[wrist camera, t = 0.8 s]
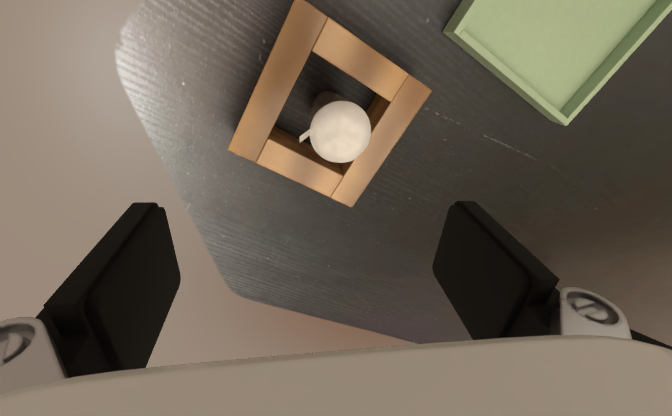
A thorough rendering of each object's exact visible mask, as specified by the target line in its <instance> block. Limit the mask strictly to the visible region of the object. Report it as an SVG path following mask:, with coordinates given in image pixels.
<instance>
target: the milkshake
mask: <svg viewBox="0 0 672 416" xmlns="http://www.w3.org/2000/svg"><path fill="white" fill-rule="evenodd" d="M308 136H310V141H311V144H312V146H313V148H314V150H315V151H316V152H317V153H318V154H319V155H320V156H321V157H322V158H324V159H325V160H327V161H331V162H337V163H345V162H350V161H352V160H355V159H356V158H357V157H358V156H359V155H360V154H361V153H362V152H363V151H364V150H365V149H366V147H367V146H368V144H369V141H370V137H371V125H370V121H369V118H368V116H367V114H366V113H365V111H364V110H363V109H362V108H361V107H360V106H358V105H356V104H354V103H352V102H350V101H348V100H346V99H345V98H343V97H342V96H340V95H339V94H338V93H336V92H330V91H323V92H322V93H320V94H319V95H317V96H316V97H315V98H314V101H313V103H312V106H311V123H310V129H309V130H308V131H306V132H305V133H303V134H302V135H301V136H300V137H299V143H300V142H302V141H303V140H304V139H306V138H307V137H308Z"/></svg>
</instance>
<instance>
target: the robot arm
mask: <svg viewBox="0 0 672 416" xmlns="http://www.w3.org/2000/svg"><path fill="white" fill-rule="evenodd" d="M433 273H434V275H435V277H436V279H437V280H438V282H439V284H440V285H441V287H442V289H443V290H444V292H445V294H446V295H447V297H448V299H449V300H450V302H451V304H452V305H453V307H454V309H455V310H456V312H457V314H458V315H459V317H460V319H461V320H462V322H463V324H464V325H465V327H466V329H467V330H468V332H469V334H470V335H471V337H472V339H473V340H469V341H455V342H442V343H429V344H416V345H403V346H392V347H379V348H366V349H353V350H343V351H342V350H341V351H329V352H317V353H305V354H293V355H281V356H270V357H258V358H248V359H235V360H224V361H212V362H201V363H191V364H180V365H170V366H160V367H151V368H146V365H147V363H148V360H149V358H150V356H151V353H152V350H153V348H154V346H155V344H156V341H157V339H158V336H159V334H160V331H161V329H162V327H163V324H164V322H165V319H166V317H167V314H168V312H169V310H170V307H171V305H172V302H173V300H174V298H175V295H176V293H177V290H178V288H179V285H180V271H179V267H178V263H177V259H176V254H175V250H174V246H173V241H172V237H171V233H170V229H169V225H168V220H167V216H166V212H165V209H164V208H163V207H158V205H157V203H133V204H132V205H131V206H130V207H129V208H128V209H127V210H126V211H125V213H124V214H123V215H122V216H121V217H120V218H119V220H118V221H117V222H116V223H115V224H114V225H113V226H112V228H111V229H110V230H109V231H108V232H107V233H106V234H105V236H104V237H103V238H102V239H101V240H100V241H99V242H98V243H97V245H96V246H95V247H94V248H93V249H92V250H91V252H90V253H89V254H88V255H87V256H86V257H85V258H84V260H83V261H82V262H81V263H80V264H79V265H78V266H77V268H76V269H75V270H74V271H73V272H72V273H71V274H70V276H69V277H68V278H67V279H66V280H65V281H64V282H63V284H62V285H61V286H60V287H59V288H58V289H57V290H56V292H55V293H54V294H53V295H52V296H51V297H50V298H49V300H48V301H47V302H46V303H45V304H44V309H43V310H42V311H41V312H40V313H39V314H38V315H37V317H36V318H33V317H18V318H12V319H7V320H4V321H1V322H0V416H672V347H671V346H668V345H666V344H664V343H661V342H659V341H657V340H654V339H652V338H650V337H647V336H645V335H643V334H640V333H638V332H636V331H633V330H631V329H629V326H628V322H627V319H626V317H625V315H624V313H623V312H622V311H621V310H620V309H619V308H618V307H617V306H616V305H615V304H613V303H612V302H611V301H609V300H608V299H606V298H604V297H603V296H601V295H599V294H597V293H595V292H592V291H590V290H587V289H583V288H579V287H565V288H564V289H562V290H561V291H560V292H559V291H558V290H557V289H556V288H555V287H556V285H557V283H558V281H559V280H560V279H559V278H558V277H556V276H555V275H554V274H553V273H552V272H551V271H550V270H549V269H548V268H547V267H546V266H544V265H543V264H542V263H541V262H540V261H539V260H538V259H537V258H536V257H535V256H534V255H533V254H531V253H530V252H529V251H528V250H527V249H526V248H525V247H524V246H523V245H522V244H521V243H519V242H518V241H517V240H516V239H515V238H514V237H513V236H512V235H511V234H510V233H509V232H507V231H506V230H505V229H504V228H503V227H502V226H501V225H500V224H499V223H498V222H497V221H495V220H494V219H493V218H492V217H491V216H490V215H489V214H488V213H487V212H486V211H485V210H484V209H482V208H481V207H480V206H479V205H478V204H477V203H476V202H474V201H457V202H455V204H454V205H452V206H450V208H449V210H448V214H447V217H446V221H445V224H444V228H443V231H442V234H441V238H440V241H439V245H438V248H437V252H436V255H435V258H434V262H433Z"/></svg>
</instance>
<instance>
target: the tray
mask: <svg viewBox="0 0 672 416" xmlns="http://www.w3.org/2000/svg"><path fill="white" fill-rule="evenodd" d="M671 10H672V0H462V2H461V3H460V5H459V6H458V8H457V9H456V11H455V12H454V14H453V16H452V17H451V19H450V20H449V22H448V23H447V25H446V26H445V28H444V29H443V31H442V32H443V33H444V34H445V35H447V36H448V37H449V38H450V39H451V40H453V41H454V42H455V43H456V44H457V45H459V46H460V47H461V48H462V49H464V50H465V51H466V52H467V53H468V54H470V55H471V56H472V57H473V58H475V59H476V60H477V61H478V62H479V63H481V64H482V65H483V66H484V67H486V68H487V69H488V70H489V71H490V72H492V73H493V74H494V75H495V76H496V77H498V78H499V79H500V80H501V81H503V82H504V83H505V84H506V85H507V86H509V87H510V88H511V89H512V90H514V91H515V92H516V93H517V94H518V95H520V96H521V97H522V98H523V99H525V100H526V101H527V102H528V103H529V104H531V105H532V106H533V107H534V108H535V109H537V110H538V111H539V112H540V113H542V114H543V115H544V116H545V117H546V118H548V119H549V120H550V121H553V122H556V123H559V124H562V125H564V126H567V125H568V124H569V123H570V122H571V120H572V119H573V118H574V117H575V116H576V115H577V114H578V113H579V112H580V110H581V109H582V108H583V107H584V106H585V105H586V104H587V103H588V102H589V101H590V99H591V98H592V97H593V96H594V95H595V94H596V93H597V92H598V91H599V89H600V88H601V87H602V86H603V85H604V84H605V83H606V82H607V81H608V80H609V78H610V77H611V76H612V75H613V74H614V73H615V72H616V71H617V70H618V68H619V67H620V66H621V65H622V64H623V63H624V62H625V61H626V60H627V58H628V57H629V56H630V55H631V54H632V53H633V52H634V51H635V50H636V49H637V47H638V46H639V45H640V44H641V43H642V42H643V41H644V40H645V39H646V37H647V36H648V35H649V34H650V33H651V32H652V31H653V30H654V29H655V28H656V26H657V25H658V24H659V23H660V22H661V21H662V20H663V19H664V18H665V16H666V15H667V14H668V13H669V12H670V11H671Z"/></svg>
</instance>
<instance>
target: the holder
mask: <svg viewBox="0 0 672 416" xmlns="http://www.w3.org/2000/svg"><path fill="white" fill-rule="evenodd" d="M311 51H313V52H314V53H316V54H317V55H319V56H320V57H322V58H323V59H325V60H327V61H328V62H330V63H331V64H333V65H334V66H336V67H337V68H339V69H340V70H342V71H343V72H345V73H346V74H348V75H350V76H351V77H353V78H354V79H356V80H357V81H359V82H360V83H362V84H363V85H365V86H366V87H368V88H370V89H371V90H373V91H374V92H376V93H377V94H376V96H375V97H374V99H373V101H372V102H371V104H370V106H369V107H368V109H367V110H366V112H365V113H366V114H367V116H368V118H369V121H370V125H371V137H370V141H369V144H368V146H367V147H366V149H365V150H364V151H363V152H362V153H361V154H360V155H359V156H358V157H357V158H356V159H355V160H352V161H350V162H345V163H337V162H331V161H327V160H325V159H324V158H322V157H321V156H320V155H319V154H318V153H317V152H316V151H315V150H314V148H313V146H312V145H310V144H308V143H306V142H304V141H302V142H300V143H299V139H298V138H296V137H294V136H293V135H291V134H289V133H287V132H285V131H283V130H281V129H279V128H277V127H275V126H274V125H275V123H276V121H277V119H278V117H279V115H280V113H281V111H282V109H283V107H284V105H285V103H286V101H287V99H288V97H289V95H290V93H291V91H292V89H293V87H294V85H295V83H296V81H297V79H298V77H299V75H300V73H301V70H302V68H303V66H304V64H305V62H306V60H307V58H308V56H309V54H310V52H311ZM431 91H432V90H431V89H429V88H428V87H426V86H425V85H424V84H422V83H421V82H419V81H418V80H417V79H415V78H414V77H412V76H411V75H410V74H408V73H407V72H405V71H404V70H402V69H401V68H400V67H398V66H397V65H395V64H394V63H393V62H391V61H390V60H388V59H387V58H386V57H384V56H383V55H381V54H380V53H379V52H377V51H376V50H374V49H373V48H372V47H370V46H369V45H367V44H366V43H365V42H363V41H362V40H360V39H359V38H358V37H356V36H355V35H353V34H352V33H351V32H349V31H348V30H346V29H345V28H344V27H342V26H341V25H339V24H338V23H337V22H335V21H334V20H332V19H331V18H330V17H328V16H327V15H325V14H324V13H322V12H321V11H320V10H318V9H317V8H315V7H314V6H313V5H311V4H310V3H308V2H307V1H306V0H294V2H293V4H292V6H291V8H290V11H289V13H288V15H287V17H286V20H285V22H284V24H283V26H282V28H281V31H280V33H279V35H278V37H277V40H276V42H275V44H274V46H273V48H272V51H271V53H270V55H269V57H268V60H267V62H266V64H265V66H264V68H263V71H262V73H261V75H260V77H259V80H258V82H257V84H256V86H255V89H254V91H253V93H252V95H251V97H250V100H249V102H248V104H247V106H246V109H245V111H244V113H243V115H242V117H241V120H240V122H239V124H238V126H237V129H236V131H235V133H234V135H233V138H232V140H231V142H230V144H229V146H228V149H227V150H229V151H231V152H233V153H236V154H238V155H240V156H242V157H244V158H246V159H248V160H251V161H253V162H256V163H257V164H259V165H262V166H264V167H266V168H268V169H270V170H272V171H274V172H277V173H279V174H281V175H283V176H285V177H287V178H290V179H292V180H294V181H296V182H298V183H300V184H302V185H305V186H307V187H309V188H311V189H313V190H315V191H318V192H320V193H322V194H324V195H326V196H328V197H330V198H332V199H334V200H336V201H339V202H341V203H343V204H345V205H347V206H349V207H353V205H354V204H355V202H356V201H357V199H358V198H359V197H360V195H361V194H362V192H363V191H364V189H365V188H366V186H367V185H368V183H369V182H370V180H371V179H372V178H373V176H374V175H375V173H376V172H377V170H378V169H379V167H380V166H381V164H382V163H383V161H384V160H385V159H386V157H387V156H388V154H389V153H390V151H391V150H392V148H393V147H394V145H395V144H396V142H397V141H398V140H399V138H400V137H401V135H402V134H403V132H404V131H405V129H406V128H407V126H408V125H409V123H410V122H411V121H412V119H413V118H414V116H415V115H416V113H417V112H418V110H419V109H420V107H421V106H422V104H423V103H424V102H425V100H426V99H427V97H428V96H429V94H430V93H431Z"/></svg>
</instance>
